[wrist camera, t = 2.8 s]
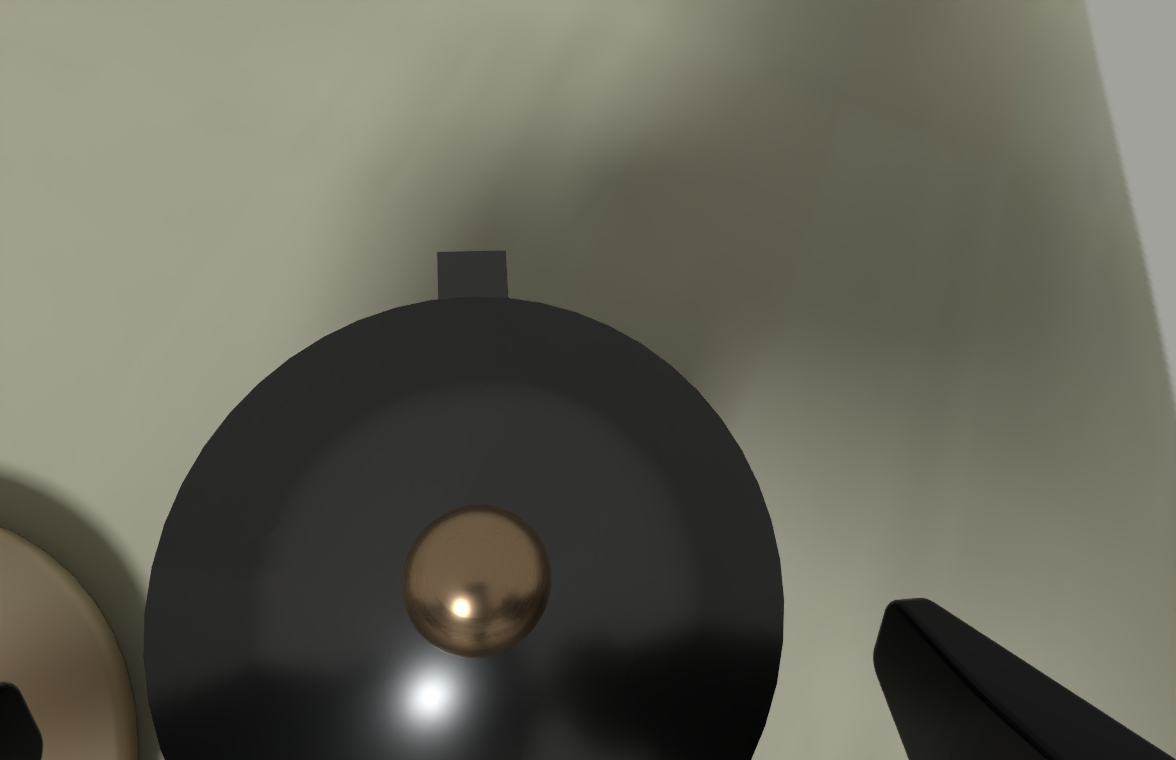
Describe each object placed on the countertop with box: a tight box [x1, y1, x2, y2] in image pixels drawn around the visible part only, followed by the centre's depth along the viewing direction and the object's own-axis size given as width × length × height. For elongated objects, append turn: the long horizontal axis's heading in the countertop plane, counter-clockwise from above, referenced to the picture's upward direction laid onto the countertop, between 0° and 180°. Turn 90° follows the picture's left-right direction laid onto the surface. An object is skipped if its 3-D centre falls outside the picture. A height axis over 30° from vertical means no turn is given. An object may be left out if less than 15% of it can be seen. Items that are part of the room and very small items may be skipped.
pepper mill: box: [144, 251, 784, 760], centre depth 11 cm, size 8×6×12 cm
